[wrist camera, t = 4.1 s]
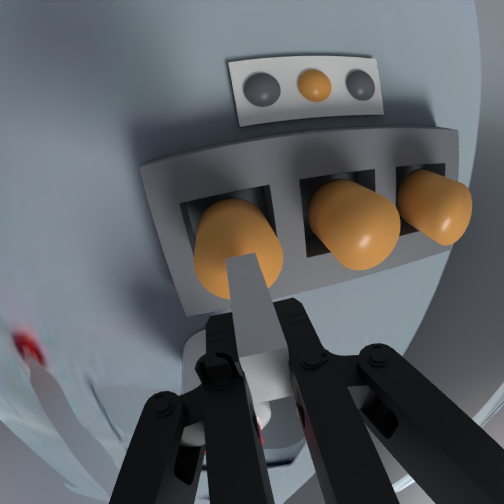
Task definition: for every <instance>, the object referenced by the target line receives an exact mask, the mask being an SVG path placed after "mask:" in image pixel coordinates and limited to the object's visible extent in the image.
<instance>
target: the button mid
mask: <svg viewBox="0 0 504 504" xmlns="http://www.w3.org/2000/svg"><path fill="white" fill-rule="evenodd" d="M308 222H309V225H310V227H311V229H312V231H313V232H314V233H315V235H316V236H317V237H318V238H319V239H320V240H321V241H322V242H323V244H324V245H325V246H326V247H327V248H328V249H329V250H330V251H331V253H332V254H333V255H334V256H335V257H336V258H337V259H338V261H339V262H340V263H341V264H342V265H343V266H345V267H347V268H349V269H352V270H366V269H370V268H372V267H375V266H376V265H378V264H380V263H381V262H382V261H384V260H385V259H386V258H387V257H388V256H389V254H390V253H391V252H392V250H393V249H394V247H395V245H396V243H397V240H398V238H399V234H400V216H399V213H398V210H397V208H396V207H395V205H394V204H393V203H392V202H391V201H390V200H389V199H387V198H386V197H384V196H382V195H380V194H378V193H376V192H374V191H372V190H370V189H368V188H366V187H364V186H362V185H359V184H357V183H355V182H353V181H351V180H348V179H334V180H331V181H328V182H326V183H325V184H323V185H322V186H321V187H320V188H318V190H317V191H316V192H315V193H314V195H313V196H312V198H311V200H310V203H309V207H308Z"/></svg>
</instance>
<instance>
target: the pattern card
mask: <svg viewBox="0 0 504 504" xmlns="http://www.w3.org/2000/svg"><path fill="white" fill-rule="evenodd" d="M228 66H229V71H230V77H231V82H232V88H233V93H234V99H235V104H236V110H237V115H238V121H239V127H242V126H248V125H255V124H261V123H268V122H276V121H284V120H293V119H302V118H313V117H327V116H345V115H384V111H383V102H382V94H381V87H380V80H379V74H378V68H377V63H376V59H371V58H359V57H343V56H290V57H273V58H261V59H252V60H243V61H236V62H229V63H228Z"/></svg>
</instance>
